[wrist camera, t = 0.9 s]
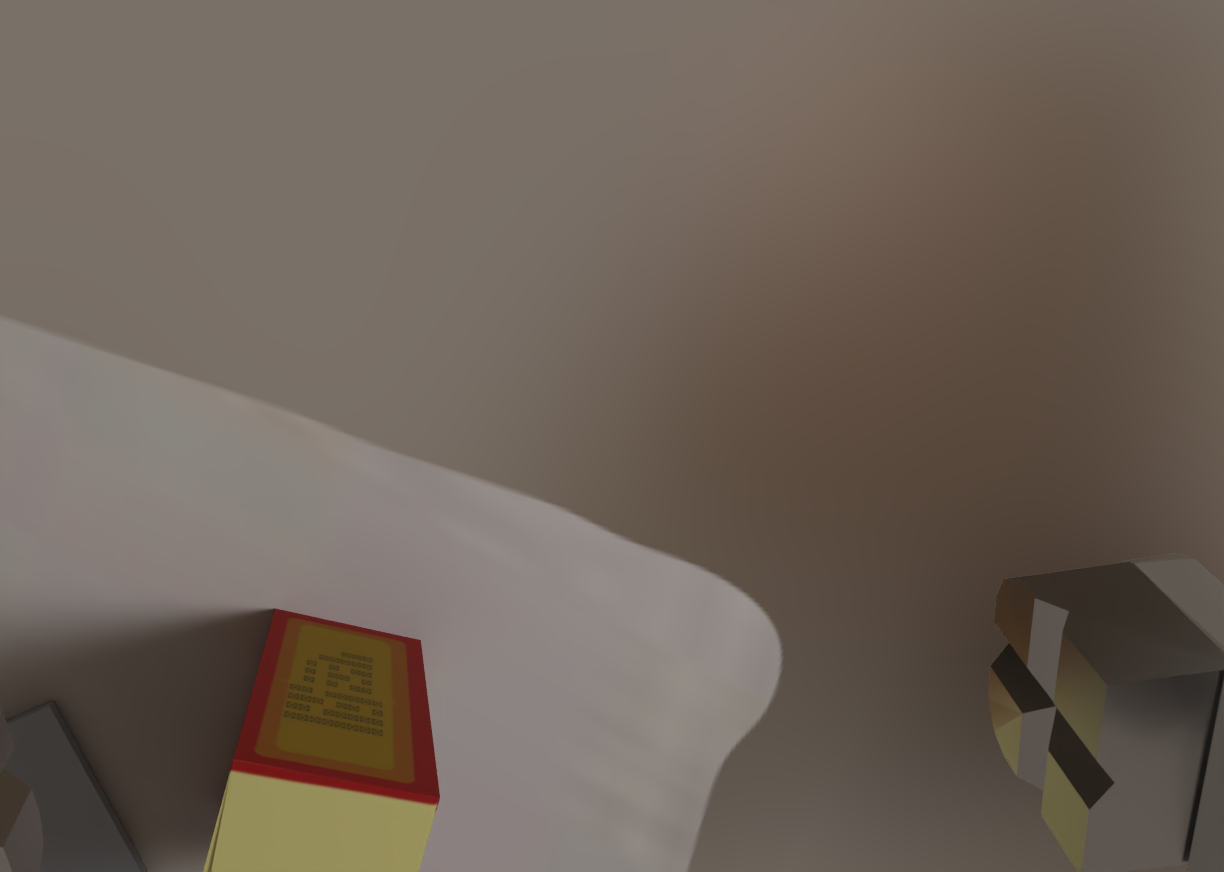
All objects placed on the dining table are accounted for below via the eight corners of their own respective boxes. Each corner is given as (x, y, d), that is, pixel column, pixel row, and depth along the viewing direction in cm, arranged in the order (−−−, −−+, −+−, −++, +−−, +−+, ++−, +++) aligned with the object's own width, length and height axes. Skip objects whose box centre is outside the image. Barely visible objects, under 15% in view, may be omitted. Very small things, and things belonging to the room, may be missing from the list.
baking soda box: (275, 608, 51) (231, 764, 35) (420, 640, 52) (440, 803, 37) (220, 808, 52) (155, 1046, 36) (365, 834, 53) (362, 1072, 38)
